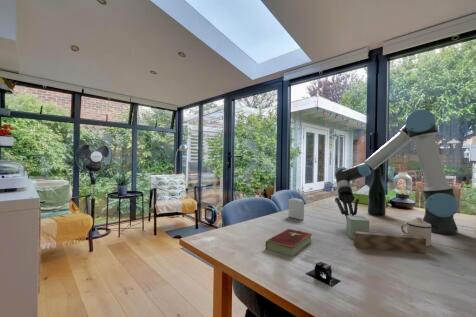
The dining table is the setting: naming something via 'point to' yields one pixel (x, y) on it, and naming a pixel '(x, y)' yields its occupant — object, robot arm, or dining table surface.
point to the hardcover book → (289, 241)
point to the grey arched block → (296, 208)
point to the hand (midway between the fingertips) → (351, 225)
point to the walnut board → (390, 242)
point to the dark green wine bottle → (377, 195)
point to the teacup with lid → (418, 229)
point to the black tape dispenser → (323, 274)
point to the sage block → (356, 225)
